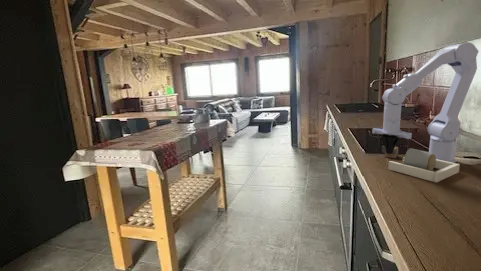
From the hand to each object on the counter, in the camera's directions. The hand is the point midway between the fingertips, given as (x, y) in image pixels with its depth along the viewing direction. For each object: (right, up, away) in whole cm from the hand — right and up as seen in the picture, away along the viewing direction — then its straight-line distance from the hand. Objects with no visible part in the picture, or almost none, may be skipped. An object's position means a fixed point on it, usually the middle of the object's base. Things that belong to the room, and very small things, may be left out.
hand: (389, 153), depth 105 cm
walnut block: (+5, -2, +8) cm, 10 cm away
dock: (+6, -6, -10) cm, 13 cm away
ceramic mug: (+6, -6, -8) cm, 12 cm away
